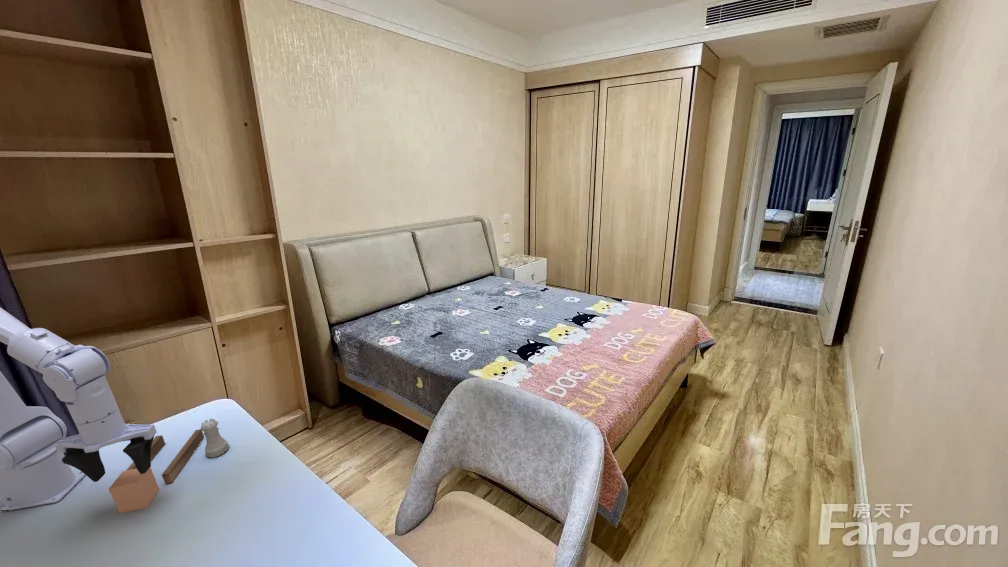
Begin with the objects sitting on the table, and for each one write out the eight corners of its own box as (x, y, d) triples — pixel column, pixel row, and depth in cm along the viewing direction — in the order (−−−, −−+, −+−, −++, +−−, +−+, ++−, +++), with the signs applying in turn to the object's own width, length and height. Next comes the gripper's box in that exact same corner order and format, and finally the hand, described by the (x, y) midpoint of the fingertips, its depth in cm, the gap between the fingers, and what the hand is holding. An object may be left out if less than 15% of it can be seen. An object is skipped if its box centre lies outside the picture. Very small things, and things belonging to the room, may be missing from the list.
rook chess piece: (220, 458, 89) (210, 428, 87) (201, 458, 90) (190, 429, 87) (233, 444, 94) (224, 415, 91) (215, 444, 94) (205, 415, 91)
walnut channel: (119, 492, 81) (115, 482, 81) (159, 444, 94) (156, 436, 94) (172, 483, 83) (168, 473, 82) (204, 437, 96) (201, 429, 95)
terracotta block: (119, 513, 77) (108, 489, 75) (132, 495, 81) (122, 471, 79) (147, 507, 78) (137, 482, 76) (159, 489, 82) (149, 465, 80)
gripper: (28, 435, 67) (61, 498, 72) (128, 421, 70) (153, 482, 74) (62, 410, 74) (90, 469, 78) (152, 397, 77) (174, 455, 81)
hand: (123, 473), depth 77 cm, fingers open, 7 cm apart
